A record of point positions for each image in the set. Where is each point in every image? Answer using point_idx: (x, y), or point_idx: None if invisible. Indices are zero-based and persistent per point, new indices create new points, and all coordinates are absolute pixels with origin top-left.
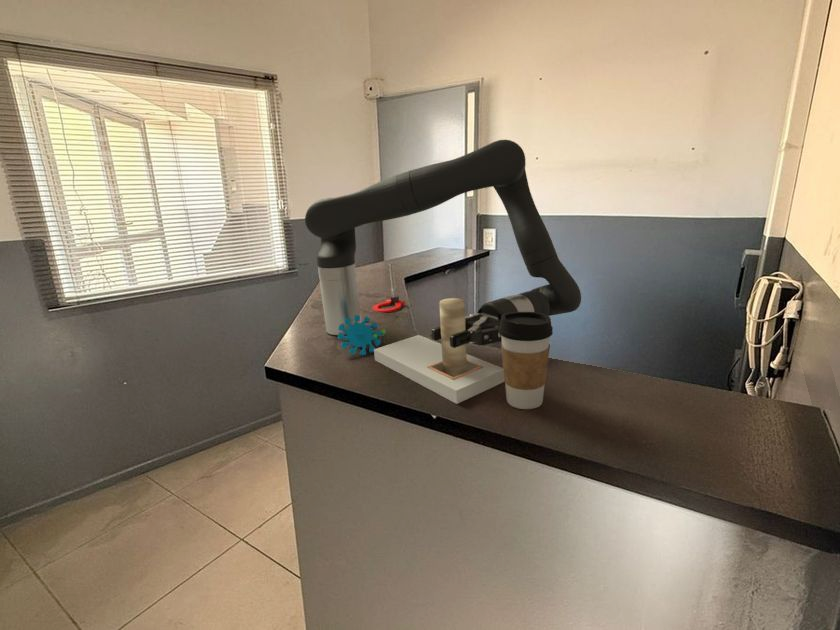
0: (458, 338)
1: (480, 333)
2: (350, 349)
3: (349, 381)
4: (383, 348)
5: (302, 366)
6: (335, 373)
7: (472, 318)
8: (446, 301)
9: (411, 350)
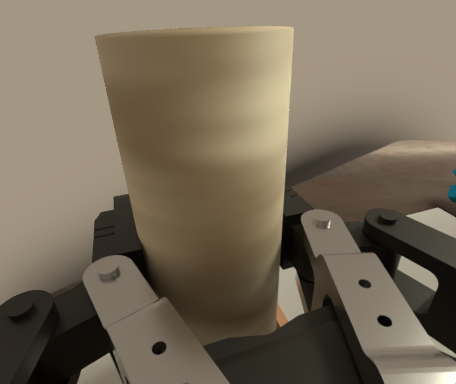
0: (98, 218)
1: (9, 304)
2: (454, 186)
3: (310, 193)
4: (447, 222)
5: (394, 157)
6: (354, 183)
7: (367, 374)
8: (223, 28)
9: (432, 277)
